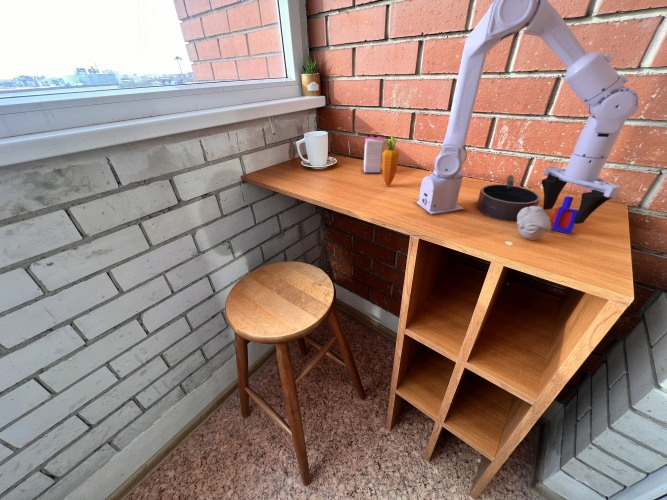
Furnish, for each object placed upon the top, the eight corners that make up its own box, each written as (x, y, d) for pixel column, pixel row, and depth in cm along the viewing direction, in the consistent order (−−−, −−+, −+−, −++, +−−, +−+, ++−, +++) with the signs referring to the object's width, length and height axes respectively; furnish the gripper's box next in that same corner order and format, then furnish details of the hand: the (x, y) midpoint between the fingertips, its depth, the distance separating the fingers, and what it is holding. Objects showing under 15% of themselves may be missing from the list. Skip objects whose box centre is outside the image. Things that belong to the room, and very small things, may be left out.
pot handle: (511, 191, 76) (513, 186, 75) (505, 190, 77) (507, 185, 76) (512, 180, 84) (514, 174, 83) (506, 179, 85) (508, 174, 84)
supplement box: (380, 173, 101) (383, 140, 95) (364, 174, 102) (365, 140, 95) (378, 169, 106) (381, 136, 100) (363, 169, 107) (364, 137, 100)
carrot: (388, 190, 88) (393, 139, 80) (376, 186, 91) (379, 136, 83) (398, 186, 91) (404, 136, 82) (386, 182, 94) (390, 134, 86)
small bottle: (566, 234, 66) (578, 200, 65) (570, 233, 62) (584, 197, 61) (548, 230, 68) (559, 197, 66) (551, 229, 64) (564, 194, 63)
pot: (502, 224, 67) (508, 206, 65) (465, 203, 78) (469, 187, 76) (546, 216, 70) (553, 199, 68) (505, 197, 81) (510, 182, 79)
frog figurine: (529, 229, 65) (540, 200, 61) (552, 244, 59) (566, 214, 56) (504, 231, 65) (514, 202, 61) (525, 247, 59) (537, 216, 55)
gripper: (645, 162, 53) (608, 227, 60) (571, 145, 64) (547, 201, 72) (617, 165, 51) (583, 232, 58) (546, 148, 63) (525, 204, 70)
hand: (562, 215), depth 65 cm, fingers open, 7 cm apart
